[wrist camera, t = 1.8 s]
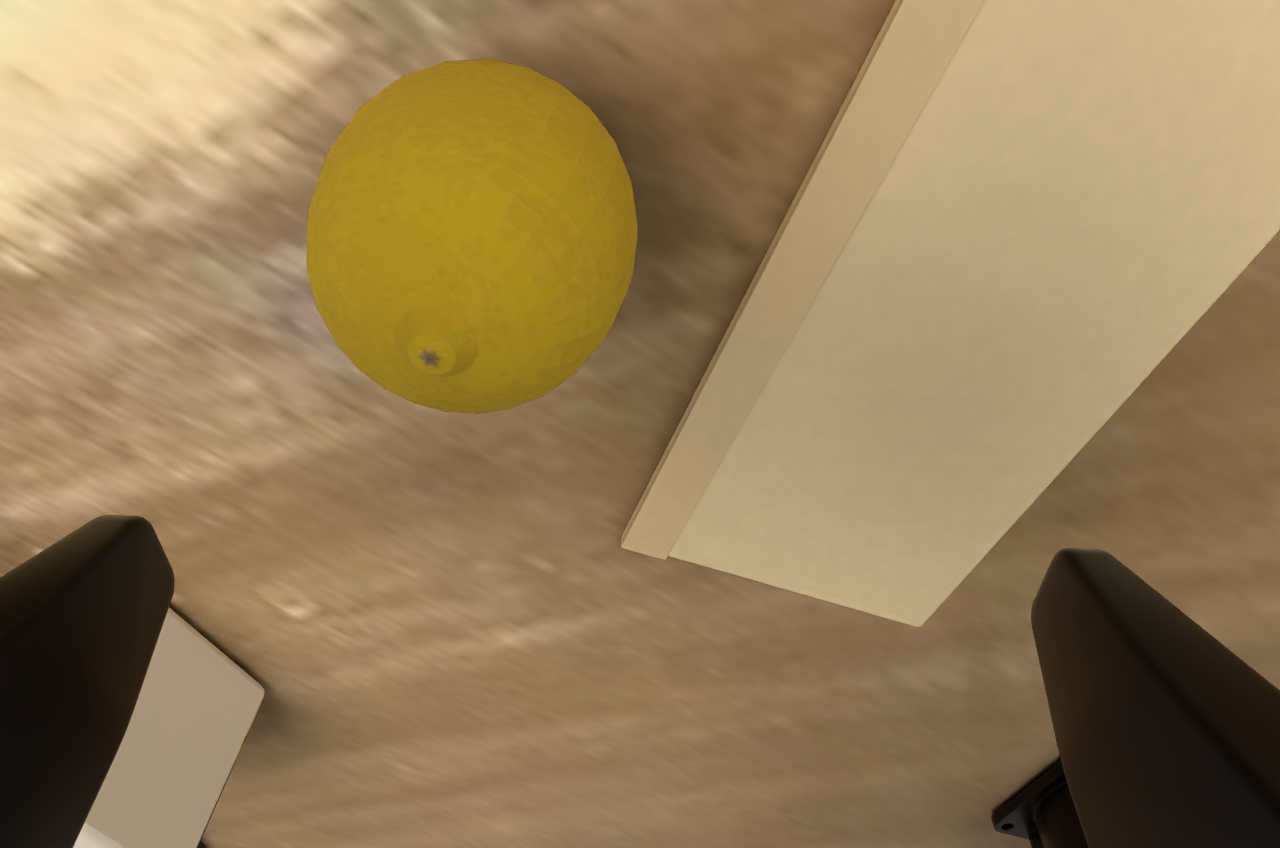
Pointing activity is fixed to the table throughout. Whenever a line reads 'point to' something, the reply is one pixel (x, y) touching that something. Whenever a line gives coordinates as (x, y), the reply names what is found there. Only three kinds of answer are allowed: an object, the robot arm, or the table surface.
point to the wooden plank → (971, 287)
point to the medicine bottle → (174, 746)
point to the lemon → (471, 236)
